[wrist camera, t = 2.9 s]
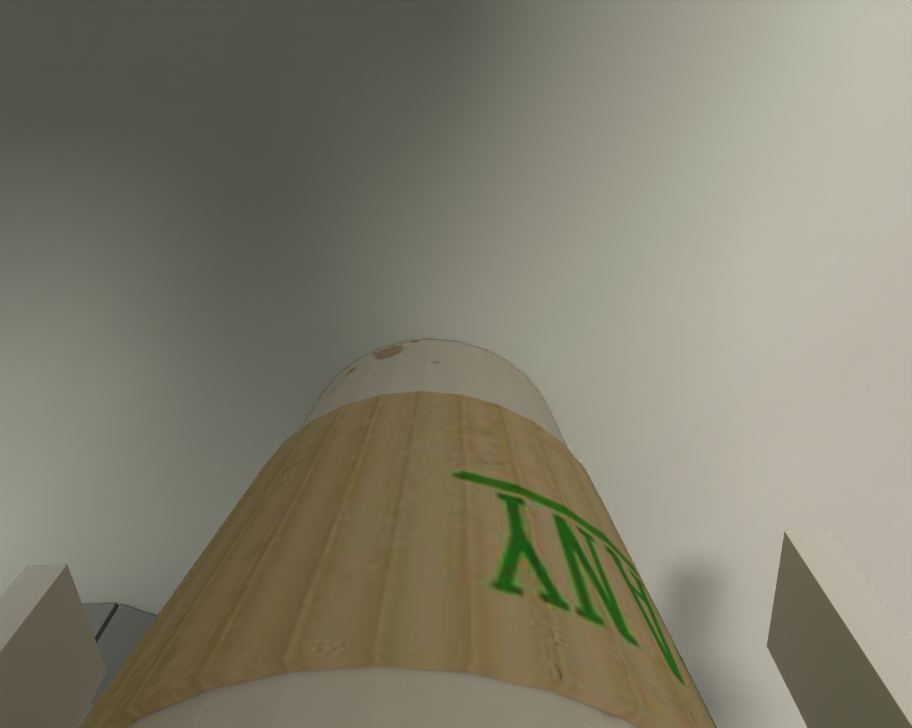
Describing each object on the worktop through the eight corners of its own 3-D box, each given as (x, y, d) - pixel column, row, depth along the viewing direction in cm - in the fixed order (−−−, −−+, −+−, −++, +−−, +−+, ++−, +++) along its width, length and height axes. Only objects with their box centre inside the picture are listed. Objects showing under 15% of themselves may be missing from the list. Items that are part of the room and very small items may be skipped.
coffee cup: (574, 629, 20) (815, 1926, 6) (223, 575, 19) (-368, 1903, 6) (689, 306, 16) (2138, 2066, 2) (246, 223, 15) (-1836, 2040, 1)
